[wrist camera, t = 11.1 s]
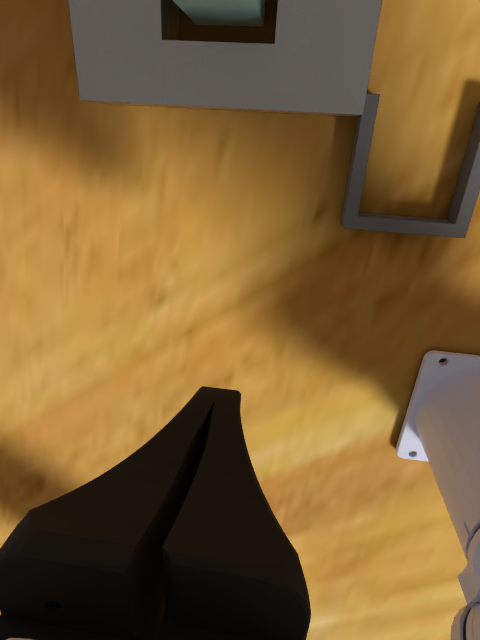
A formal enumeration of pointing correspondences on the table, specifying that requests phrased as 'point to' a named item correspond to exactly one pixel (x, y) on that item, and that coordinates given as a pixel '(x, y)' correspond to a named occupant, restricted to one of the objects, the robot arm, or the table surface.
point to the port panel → (226, 58)
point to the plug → (224, 12)
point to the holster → (473, 178)
